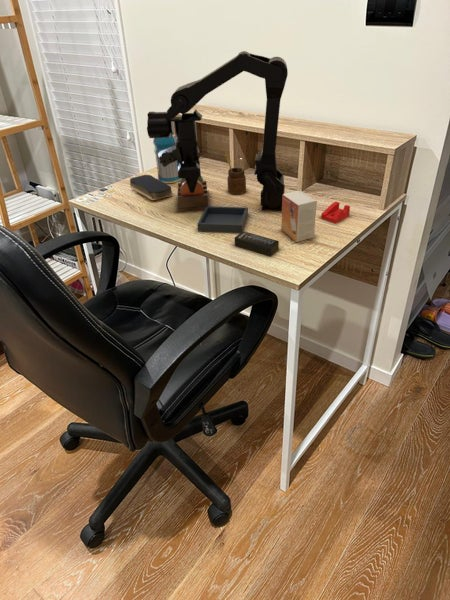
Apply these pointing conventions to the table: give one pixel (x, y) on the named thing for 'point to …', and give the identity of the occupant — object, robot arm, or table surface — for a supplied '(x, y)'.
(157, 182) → the black sponge
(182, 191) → the terracotta disc
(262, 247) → the multiport hub
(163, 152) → the robot arm
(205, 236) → the table surface
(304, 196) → the small box
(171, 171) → the beverage bottle
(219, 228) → the tray
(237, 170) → the utensil holder
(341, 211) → the bracket
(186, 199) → the rack
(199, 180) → the sage disc
